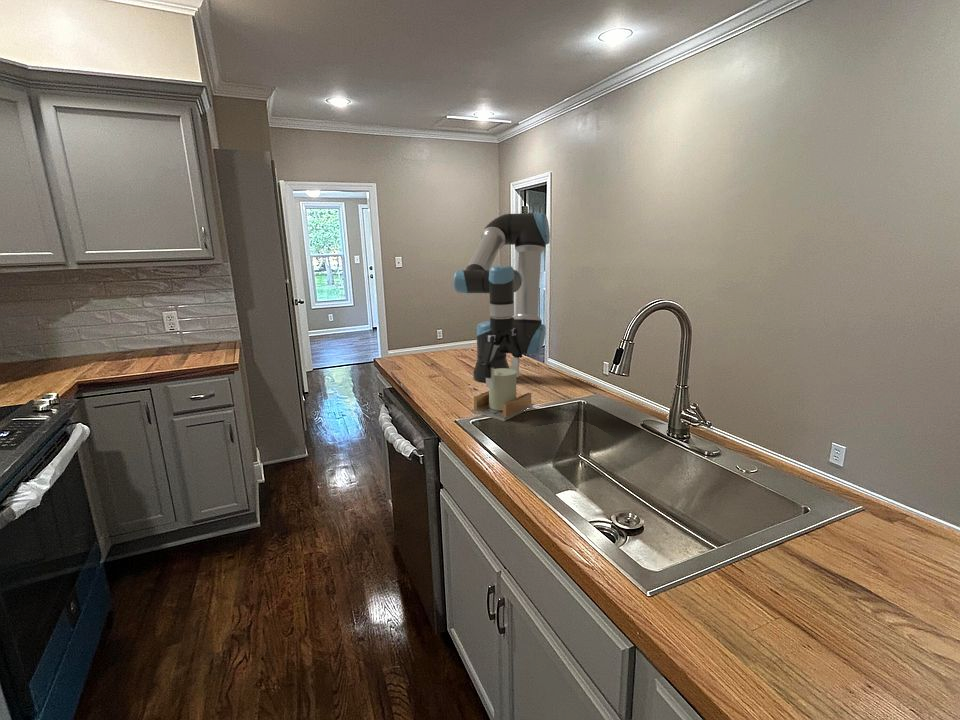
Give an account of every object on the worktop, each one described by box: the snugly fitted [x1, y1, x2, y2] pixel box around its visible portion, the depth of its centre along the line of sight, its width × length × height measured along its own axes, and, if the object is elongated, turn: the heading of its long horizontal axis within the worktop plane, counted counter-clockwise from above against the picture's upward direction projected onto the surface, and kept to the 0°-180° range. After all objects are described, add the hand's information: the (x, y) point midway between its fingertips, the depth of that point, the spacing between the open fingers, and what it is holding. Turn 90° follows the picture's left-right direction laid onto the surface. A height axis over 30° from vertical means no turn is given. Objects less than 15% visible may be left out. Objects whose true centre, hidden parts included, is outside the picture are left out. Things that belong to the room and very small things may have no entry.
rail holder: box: [471, 390, 534, 422], centre depth 155 cm, size 16×13×5 cm
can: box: [488, 368, 517, 411], centre depth 154 cm, size 9×9×12 cm
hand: (502, 381), depth 154 cm, fingers open, 13 cm apart
